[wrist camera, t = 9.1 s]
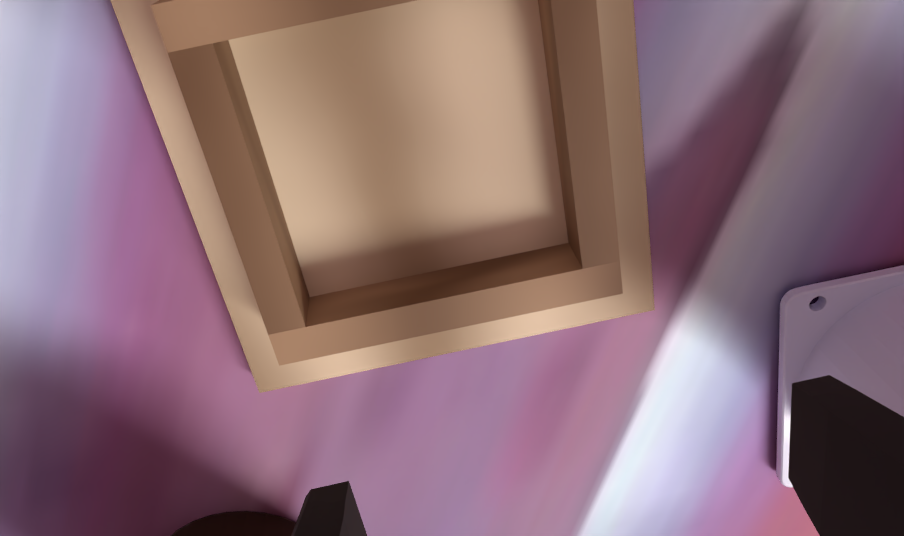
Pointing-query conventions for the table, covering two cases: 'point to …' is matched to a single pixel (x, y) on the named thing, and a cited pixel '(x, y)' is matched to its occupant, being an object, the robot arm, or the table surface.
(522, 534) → the table surface
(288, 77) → the jug board
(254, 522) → the coffee mug
